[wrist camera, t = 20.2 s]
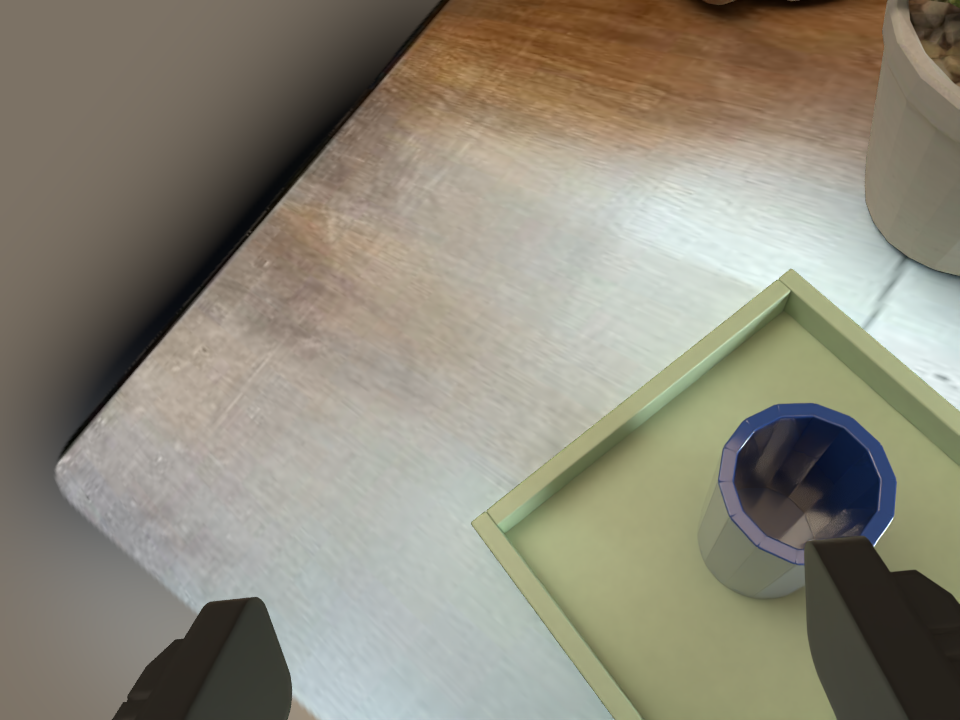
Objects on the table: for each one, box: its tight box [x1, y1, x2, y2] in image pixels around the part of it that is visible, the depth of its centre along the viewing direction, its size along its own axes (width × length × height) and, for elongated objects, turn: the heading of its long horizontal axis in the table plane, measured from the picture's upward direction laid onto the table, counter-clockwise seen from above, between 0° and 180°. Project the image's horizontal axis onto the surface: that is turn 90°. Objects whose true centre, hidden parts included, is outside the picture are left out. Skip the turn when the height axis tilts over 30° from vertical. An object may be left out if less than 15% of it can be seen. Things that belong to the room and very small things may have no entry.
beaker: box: [697, 403, 897, 600], centre depth 26 cm, size 5×5×10 cm
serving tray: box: [471, 269, 960, 720], centre depth 30 cm, size 18×15×3 cm
